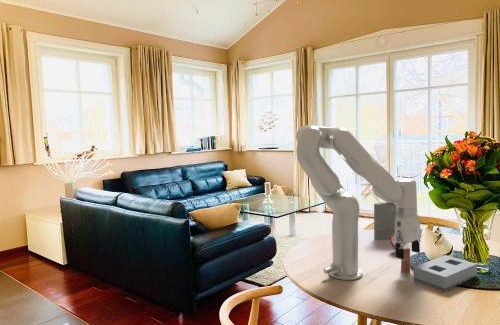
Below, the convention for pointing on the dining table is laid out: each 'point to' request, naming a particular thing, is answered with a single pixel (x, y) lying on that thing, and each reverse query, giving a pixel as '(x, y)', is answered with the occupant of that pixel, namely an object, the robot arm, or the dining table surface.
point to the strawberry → (392, 243)
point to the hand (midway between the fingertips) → (407, 255)
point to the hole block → (444, 272)
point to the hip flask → (384, 220)
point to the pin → (406, 260)
